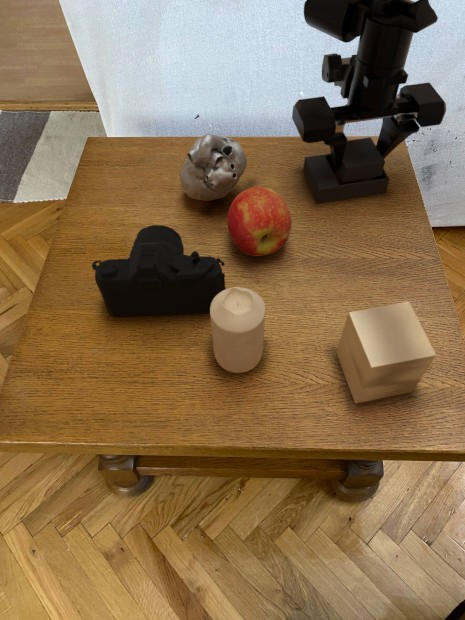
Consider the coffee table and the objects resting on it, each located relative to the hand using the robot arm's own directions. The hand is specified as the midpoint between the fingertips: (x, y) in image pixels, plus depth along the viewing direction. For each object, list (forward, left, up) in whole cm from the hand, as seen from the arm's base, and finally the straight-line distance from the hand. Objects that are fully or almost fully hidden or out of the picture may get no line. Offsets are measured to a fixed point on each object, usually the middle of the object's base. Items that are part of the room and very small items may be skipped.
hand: (355, 165), depth 69 cm
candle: (+22, +25, -3) cm, 34 cm away
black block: (0, 0, 0) cm, 0 cm away
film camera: (+29, +14, -3) cm, 33 cm away
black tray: (+1, 0, -3) cm, 3 cm away
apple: (+16, +9, -3) cm, 19 cm away
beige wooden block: (+8, +30, -3) cm, 32 cm away
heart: (+20, -1, -3) cm, 21 cm away
